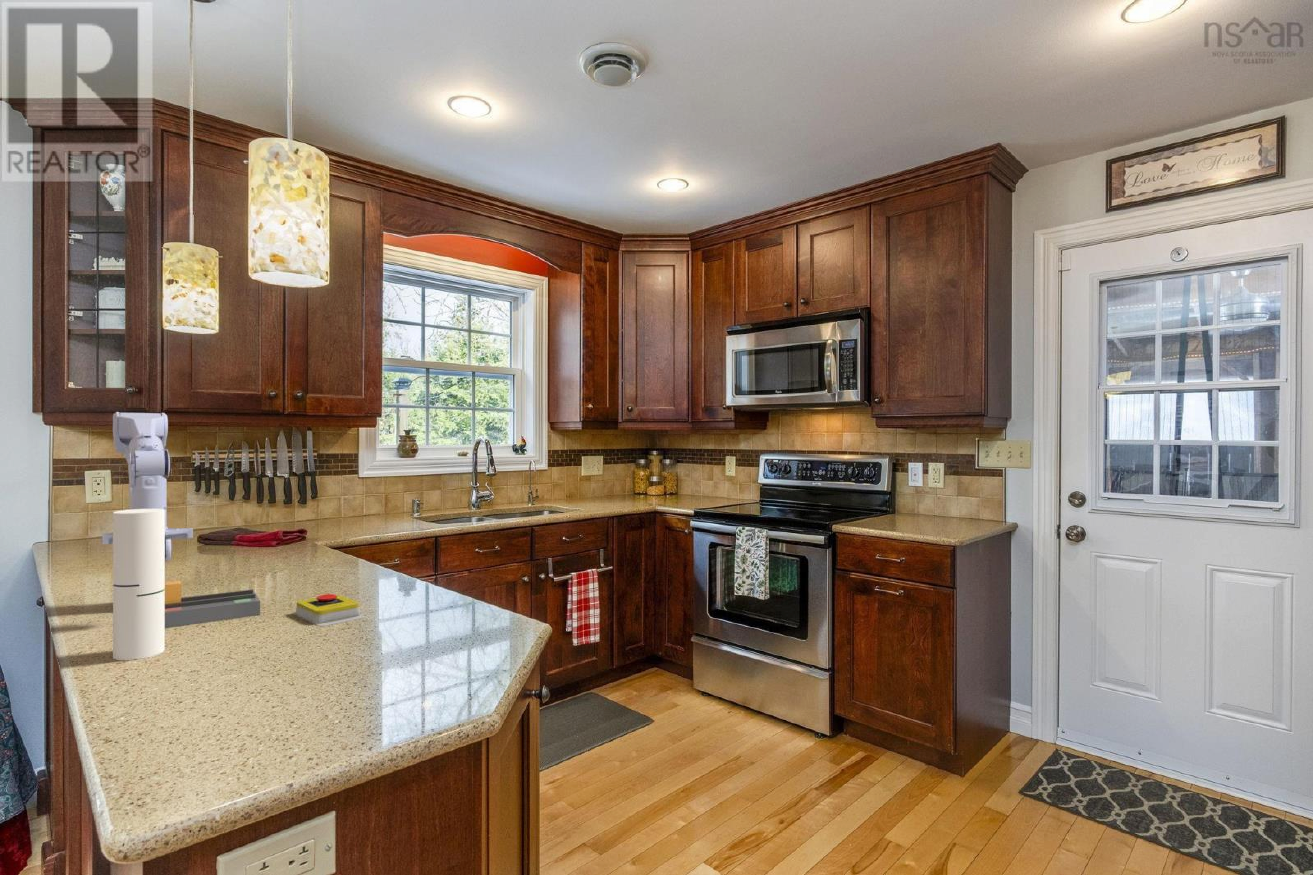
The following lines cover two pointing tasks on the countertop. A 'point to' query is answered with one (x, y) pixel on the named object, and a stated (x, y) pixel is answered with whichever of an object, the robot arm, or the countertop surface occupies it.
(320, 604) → the emergency button
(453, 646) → the countertop surface
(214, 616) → the switch panel
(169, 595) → the knob
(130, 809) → the countertop surface
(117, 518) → the cylindrical container
